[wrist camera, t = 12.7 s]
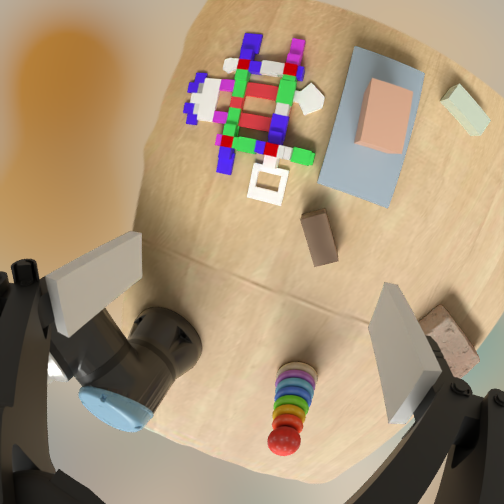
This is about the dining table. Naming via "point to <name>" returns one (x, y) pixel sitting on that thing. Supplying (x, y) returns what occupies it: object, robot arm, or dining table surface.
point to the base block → (344, 130)
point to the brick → (450, 341)
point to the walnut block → (319, 237)
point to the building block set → (284, 95)
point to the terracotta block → (384, 117)
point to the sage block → (465, 110)
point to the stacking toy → (291, 406)
